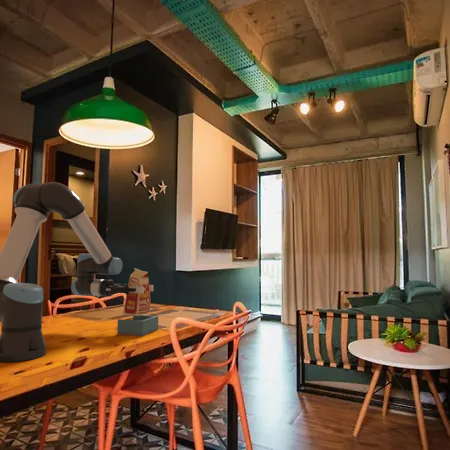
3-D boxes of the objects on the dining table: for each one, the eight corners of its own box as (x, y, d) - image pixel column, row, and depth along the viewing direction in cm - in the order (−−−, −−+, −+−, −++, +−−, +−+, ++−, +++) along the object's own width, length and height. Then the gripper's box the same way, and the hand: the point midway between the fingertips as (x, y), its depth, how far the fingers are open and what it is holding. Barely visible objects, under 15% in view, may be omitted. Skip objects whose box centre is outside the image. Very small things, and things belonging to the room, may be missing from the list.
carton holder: (158, 329, 158) (158, 316, 158) (143, 336, 145) (143, 321, 146) (134, 328, 161) (134, 314, 162) (117, 334, 148) (117, 319, 149)
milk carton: (122, 314, 153) (124, 268, 154) (137, 311, 161) (138, 267, 162) (139, 316, 148) (140, 268, 150) (153, 313, 156) (153, 268, 158)
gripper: (116, 293, 170) (159, 295, 164) (88, 298, 150) (135, 300, 144) (116, 278, 171) (159, 278, 164) (89, 281, 151) (136, 282, 144)
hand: (148, 289), depth 154 cm, fingers closed on milk carton, 8 cm apart
